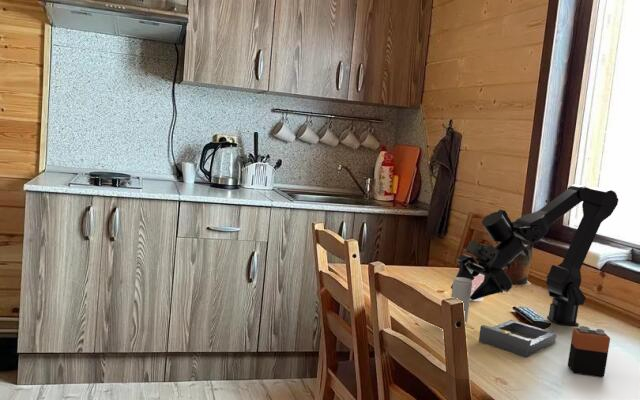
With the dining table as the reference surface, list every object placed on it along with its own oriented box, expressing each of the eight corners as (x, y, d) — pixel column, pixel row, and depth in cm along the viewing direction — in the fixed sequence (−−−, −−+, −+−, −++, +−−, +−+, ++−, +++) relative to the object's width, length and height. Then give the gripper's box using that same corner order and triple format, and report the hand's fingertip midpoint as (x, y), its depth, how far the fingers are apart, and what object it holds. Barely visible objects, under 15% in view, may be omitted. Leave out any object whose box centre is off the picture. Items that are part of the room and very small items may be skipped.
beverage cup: (480, 303, 187) (486, 257, 185) (461, 298, 190) (467, 253, 189) (488, 300, 192) (494, 255, 190) (469, 295, 195) (475, 251, 194)
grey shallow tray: (509, 328, 164) (512, 313, 163) (555, 342, 156) (557, 326, 155) (477, 342, 150) (479, 325, 150) (525, 358, 142) (527, 340, 142)
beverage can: (466, 327, 161) (472, 282, 159) (447, 324, 162) (453, 279, 160) (466, 322, 165) (472, 278, 164) (447, 319, 166) (453, 275, 165)
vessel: (497, 272, 233) (506, 220, 230) (535, 282, 225) (545, 228, 222) (483, 278, 221) (491, 223, 218) (522, 288, 213) (532, 231, 210)
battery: (566, 366, 140) (573, 323, 139) (598, 370, 139) (605, 327, 138) (572, 373, 136) (579, 329, 134) (604, 378, 135) (611, 333, 134)
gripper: (468, 225, 171) (427, 263, 169) (509, 239, 154) (464, 281, 151) (488, 254, 175) (448, 291, 172) (531, 271, 157) (487, 313, 155)
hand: (461, 293), depth 163 cm, fingers open, 9 cm apart
